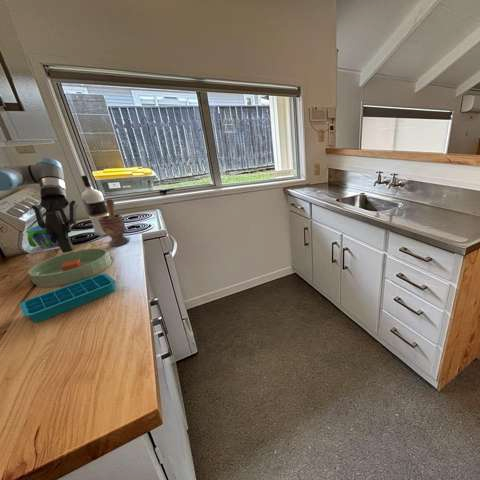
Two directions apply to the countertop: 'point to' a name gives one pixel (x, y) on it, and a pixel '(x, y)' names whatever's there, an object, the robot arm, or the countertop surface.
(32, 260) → the countertop surface
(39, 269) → the bowl
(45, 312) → the ice cube tray
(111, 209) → the mortar and pestle
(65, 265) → the block
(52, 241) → the robot arm
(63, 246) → the dark grey bar
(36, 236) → the green blue printed package
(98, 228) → the vodka
